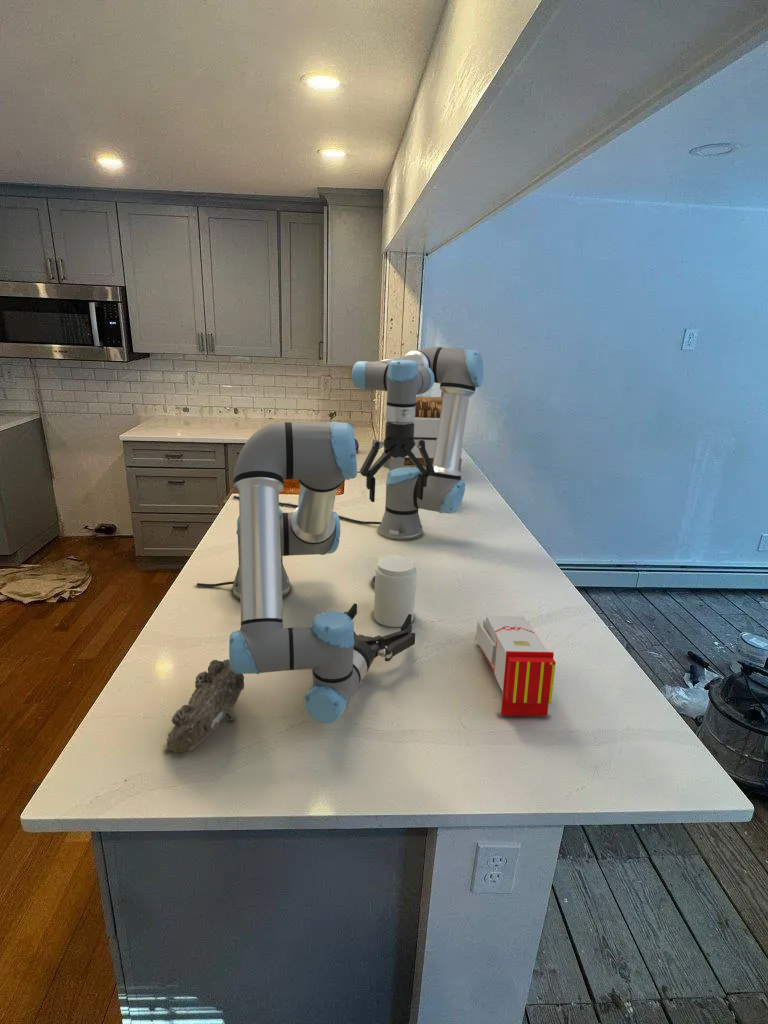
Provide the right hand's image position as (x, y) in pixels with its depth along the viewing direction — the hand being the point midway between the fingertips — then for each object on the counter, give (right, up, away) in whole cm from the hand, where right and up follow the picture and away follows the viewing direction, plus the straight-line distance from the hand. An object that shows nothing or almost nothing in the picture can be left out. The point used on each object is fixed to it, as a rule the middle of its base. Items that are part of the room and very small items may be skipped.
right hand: (396, 499), depth 154 cm
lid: (-1, -23, +8) cm, 25 cm away
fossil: (-36, -43, -46) cm, 72 cm away
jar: (-1, -30, -8) cm, 31 cm away
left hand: (-4, -28, -19) cm, 34 cm away
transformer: (+14, +15, +121) cm, 122 cm away
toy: (+24, -39, -30) cm, 55 cm away
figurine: (-21, +29, +154) cm, 158 cm away
